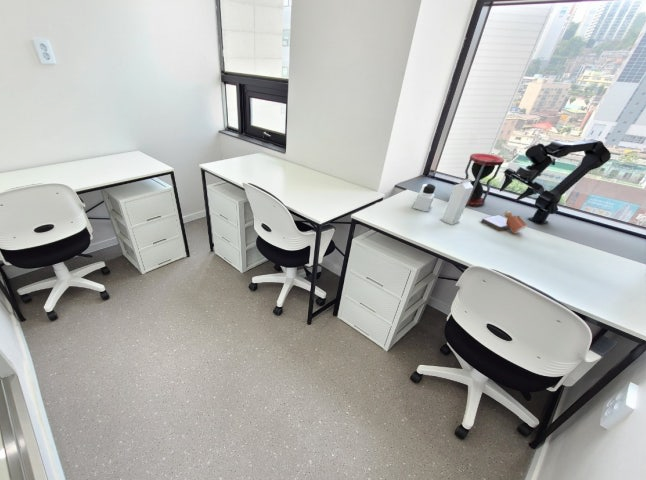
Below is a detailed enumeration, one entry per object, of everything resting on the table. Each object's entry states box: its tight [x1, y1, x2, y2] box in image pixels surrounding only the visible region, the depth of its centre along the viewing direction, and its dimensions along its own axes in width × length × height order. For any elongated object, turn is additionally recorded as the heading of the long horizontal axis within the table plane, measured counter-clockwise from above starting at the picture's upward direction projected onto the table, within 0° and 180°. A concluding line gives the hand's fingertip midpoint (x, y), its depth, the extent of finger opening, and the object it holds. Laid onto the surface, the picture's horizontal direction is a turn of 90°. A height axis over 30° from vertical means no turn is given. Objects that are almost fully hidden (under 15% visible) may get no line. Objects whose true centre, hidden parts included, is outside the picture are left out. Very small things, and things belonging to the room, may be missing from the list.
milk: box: [441, 178, 473, 225], centre depth 154 cm, size 6×6×22 cm
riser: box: [480, 214, 510, 232], centre depth 158 cm, size 12×10×2 cm
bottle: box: [503, 211, 528, 234], centre depth 152 cm, size 11×6×8 cm, turn 23°
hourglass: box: [459, 153, 505, 207], centre depth 175 cm, size 16×16×25 cm
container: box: [412, 183, 436, 212], centre depth 169 cm, size 8×8×13 cm
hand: (507, 195), depth 151 cm, fingers open, 9 cm apart
